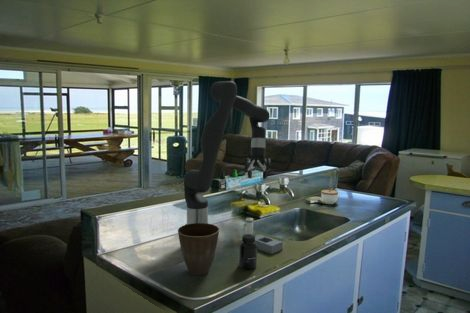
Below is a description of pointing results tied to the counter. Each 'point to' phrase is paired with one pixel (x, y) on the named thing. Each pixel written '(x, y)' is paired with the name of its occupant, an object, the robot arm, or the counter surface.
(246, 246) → the supplement bottle
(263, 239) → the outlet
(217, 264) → the counter surface
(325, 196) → the lidded jar
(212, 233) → the plant pot
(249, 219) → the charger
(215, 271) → the counter surface
